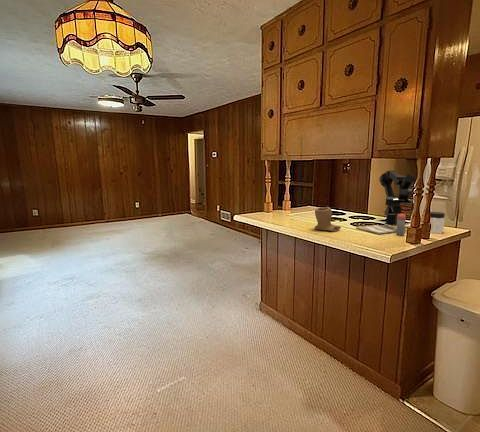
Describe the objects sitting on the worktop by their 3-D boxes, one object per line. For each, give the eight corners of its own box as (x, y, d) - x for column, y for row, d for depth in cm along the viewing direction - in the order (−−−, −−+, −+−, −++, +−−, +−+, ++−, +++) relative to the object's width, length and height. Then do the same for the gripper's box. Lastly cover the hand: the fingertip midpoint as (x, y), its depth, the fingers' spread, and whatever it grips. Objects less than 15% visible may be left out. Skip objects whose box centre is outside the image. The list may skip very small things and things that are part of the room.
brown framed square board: (377, 226, 201) (377, 223, 201) (402, 231, 184) (402, 229, 184) (355, 228, 194) (355, 226, 194) (379, 235, 177) (379, 232, 177)
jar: (428, 233, 180) (430, 213, 178) (424, 230, 188) (426, 211, 186) (445, 233, 178) (447, 214, 175) (440, 231, 185) (443, 212, 183)
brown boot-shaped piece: (310, 230, 192) (311, 207, 189) (319, 227, 200) (320, 205, 197) (332, 233, 181) (333, 209, 179) (341, 230, 190) (342, 207, 187)
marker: (399, 234, 179) (401, 213, 176) (405, 235, 175) (407, 214, 173) (394, 234, 177) (396, 214, 175) (400, 236, 173) (402, 215, 171)
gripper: (387, 183, 185) (385, 203, 178) (422, 184, 177) (421, 205, 169) (386, 195, 194) (384, 214, 186) (420, 196, 185) (419, 216, 177)
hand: (401, 212), depth 179 cm, fingers open, 9 cm apart
